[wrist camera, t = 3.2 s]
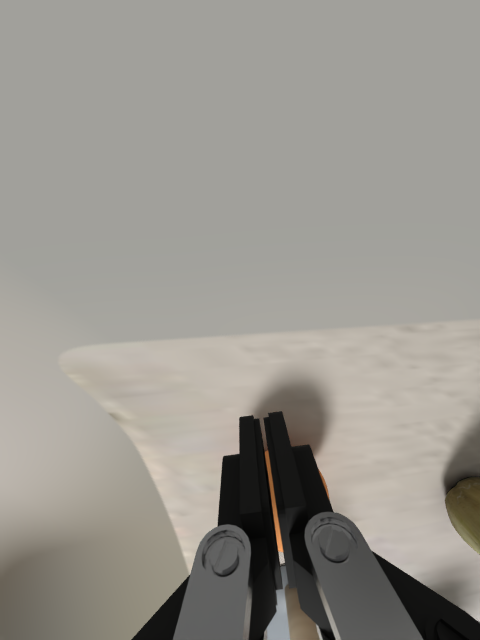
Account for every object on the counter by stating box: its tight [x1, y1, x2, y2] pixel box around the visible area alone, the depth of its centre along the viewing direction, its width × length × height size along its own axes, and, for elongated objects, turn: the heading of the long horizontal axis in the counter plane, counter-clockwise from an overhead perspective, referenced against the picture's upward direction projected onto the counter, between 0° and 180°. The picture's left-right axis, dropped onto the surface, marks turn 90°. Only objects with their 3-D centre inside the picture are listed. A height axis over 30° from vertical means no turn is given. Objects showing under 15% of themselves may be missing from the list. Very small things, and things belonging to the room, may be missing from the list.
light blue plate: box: [267, 565, 290, 640], centre depth 26 cm, size 11×11×1 cm
